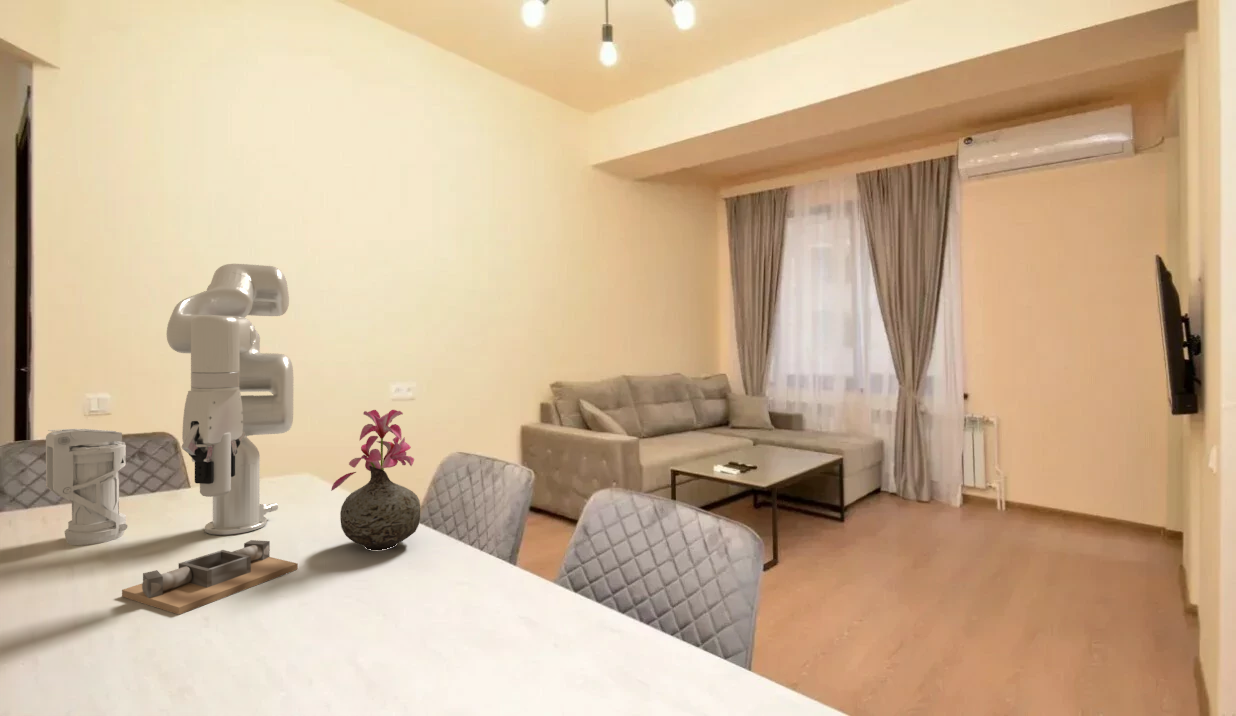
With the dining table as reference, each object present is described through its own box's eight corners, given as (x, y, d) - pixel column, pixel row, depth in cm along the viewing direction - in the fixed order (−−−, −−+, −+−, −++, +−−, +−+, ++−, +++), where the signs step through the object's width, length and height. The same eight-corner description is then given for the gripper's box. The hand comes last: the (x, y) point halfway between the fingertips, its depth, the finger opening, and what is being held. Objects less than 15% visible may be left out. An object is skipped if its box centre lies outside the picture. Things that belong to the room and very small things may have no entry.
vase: (434, 546, 134) (435, 412, 133) (355, 566, 121) (356, 418, 120) (397, 529, 145) (399, 405, 144) (322, 546, 132) (323, 410, 132)
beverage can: (222, 497, 110) (223, 431, 110) (194, 497, 109) (194, 431, 109) (235, 490, 115) (236, 427, 114) (208, 491, 114) (208, 427, 114)
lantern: (114, 528, 142) (114, 422, 142) (134, 536, 137) (133, 426, 136) (41, 543, 131) (40, 428, 131) (59, 552, 126) (58, 433, 125)
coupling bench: (244, 556, 126) (244, 535, 125) (298, 569, 119) (298, 547, 119) (121, 596, 105) (121, 571, 105) (178, 614, 99) (178, 588, 99)
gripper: (228, 378, 120) (228, 469, 121) (158, 384, 103) (158, 490, 104) (264, 379, 120) (264, 470, 120) (200, 385, 103) (200, 491, 103)
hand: (215, 478), depth 112 cm, fingers closed on beverage can, 4 cm apart
